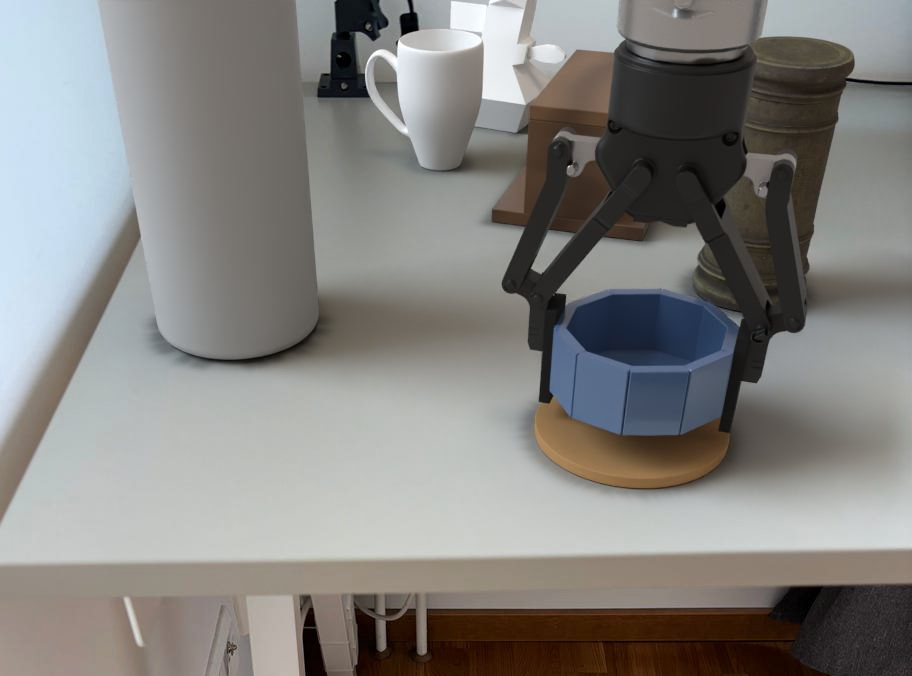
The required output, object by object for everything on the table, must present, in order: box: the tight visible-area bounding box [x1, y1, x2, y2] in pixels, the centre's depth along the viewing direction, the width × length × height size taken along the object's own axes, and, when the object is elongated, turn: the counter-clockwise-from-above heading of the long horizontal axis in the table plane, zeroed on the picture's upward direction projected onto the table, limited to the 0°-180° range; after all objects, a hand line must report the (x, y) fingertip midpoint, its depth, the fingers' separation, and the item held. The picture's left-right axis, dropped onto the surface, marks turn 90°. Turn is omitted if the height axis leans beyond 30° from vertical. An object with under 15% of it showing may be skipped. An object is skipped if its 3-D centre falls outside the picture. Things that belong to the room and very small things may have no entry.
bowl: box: [550, 288, 740, 436], centre depth 70 cm, size 11×12×5 cm
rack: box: [491, 48, 651, 242], centre depth 102 cm, size 14×18×10 cm
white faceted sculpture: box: [449, 0, 568, 134], centre depth 117 cm, size 8×14×14 cm, turn 64°
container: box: [691, 35, 856, 312], centre depth 84 cm, size 9×9×18 cm
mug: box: [364, 28, 484, 171], centre depth 108 cm, size 12×8×11 cm
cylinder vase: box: [97, 0, 320, 361], centre depth 77 cm, size 12×12×25 cm
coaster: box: [533, 396, 731, 489], centre depth 73 cm, size 13×13×1 cm
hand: (635, 407), depth 72 cm, fingers closed on bowl, 11 cm apart
